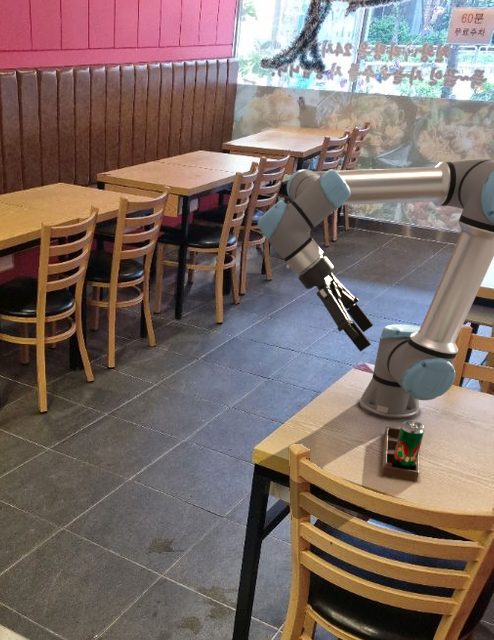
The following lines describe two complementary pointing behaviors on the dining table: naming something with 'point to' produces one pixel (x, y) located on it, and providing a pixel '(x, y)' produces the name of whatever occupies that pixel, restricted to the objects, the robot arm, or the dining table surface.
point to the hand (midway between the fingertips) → (367, 337)
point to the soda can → (408, 445)
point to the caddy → (388, 458)
